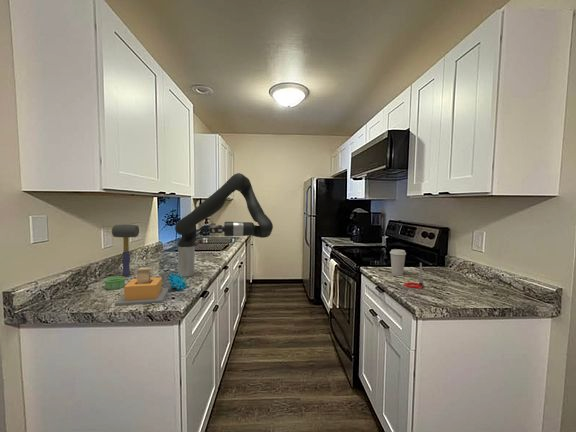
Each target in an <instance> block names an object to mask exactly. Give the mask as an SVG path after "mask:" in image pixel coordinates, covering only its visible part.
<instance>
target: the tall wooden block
mask: <svg viewBox="0 0 576 432" xmlns="http://www.w3.org/2000/svg"><path fill="white" fill-rule="evenodd" d="M151 270H152V268H151V267H139V268H138V269H137V270H136V279H137V284H150V283H151V278H152V277H151V276H152V274H151V273H152V271H151Z"/></svg>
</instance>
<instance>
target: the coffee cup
mask: <svg viewBox="0 0 576 432" xmlns="http://www.w3.org/2000/svg"><path fill="white" fill-rule="evenodd" d="M389 254H390V264H391V274H392V275H393V276H404V269H405V261H406V255H407V252H406V250H404V249H397V248H394V249H391V250H390V251H389Z"/></svg>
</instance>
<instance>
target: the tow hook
mask: <svg viewBox="0 0 576 432" xmlns="http://www.w3.org/2000/svg"><path fill="white" fill-rule="evenodd" d="M422 265H423V263H422V262H419V278H418V279H419V281H418V282H409V281H408V282H404V283H403V285H404V287H406V288H413V289H414V288H415V289H416V288H417V289H419V290H421V289H422V288H424V285H425V284H424V281H423V280H424V278H423V266H422Z"/></svg>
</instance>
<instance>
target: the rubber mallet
mask: <svg viewBox="0 0 576 432" xmlns="http://www.w3.org/2000/svg"><path fill="white" fill-rule="evenodd" d="M111 234H112V237H114V238H123V241H122V242H123V251H122V257H121V258H122V272H121V273H122V277H125V278H126V277H130V275H131V267H130V266H131V265H130V262H131V261H130V260H131V254H130V251H129V249H130V247H129V238H137V237H138V236H139V234H140V228H139V225H136V224H115V225H113V226H112V229H111Z"/></svg>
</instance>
